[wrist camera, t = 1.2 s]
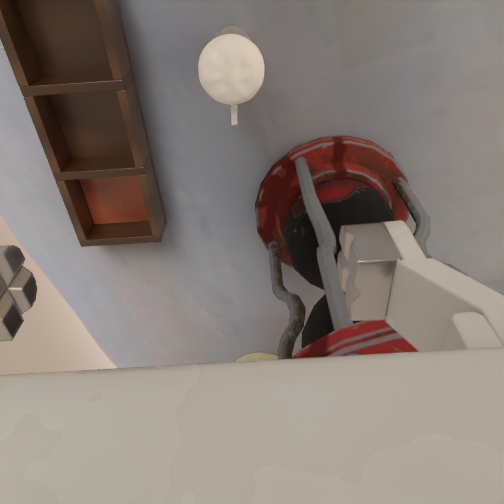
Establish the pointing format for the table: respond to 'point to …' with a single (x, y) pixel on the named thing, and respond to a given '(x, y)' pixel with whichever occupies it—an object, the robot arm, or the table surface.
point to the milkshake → (231, 68)
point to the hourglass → (331, 236)
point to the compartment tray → (86, 115)
